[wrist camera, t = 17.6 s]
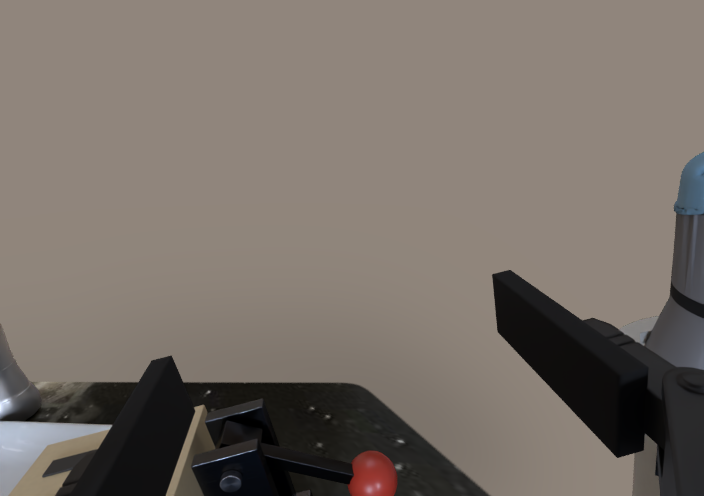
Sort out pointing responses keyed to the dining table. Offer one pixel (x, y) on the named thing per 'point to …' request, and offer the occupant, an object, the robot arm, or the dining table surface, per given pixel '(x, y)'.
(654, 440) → the robot arm
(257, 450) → the lever bracket
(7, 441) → the square plate
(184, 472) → the toaster
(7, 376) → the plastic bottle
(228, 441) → the lever
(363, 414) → the dining table surface
